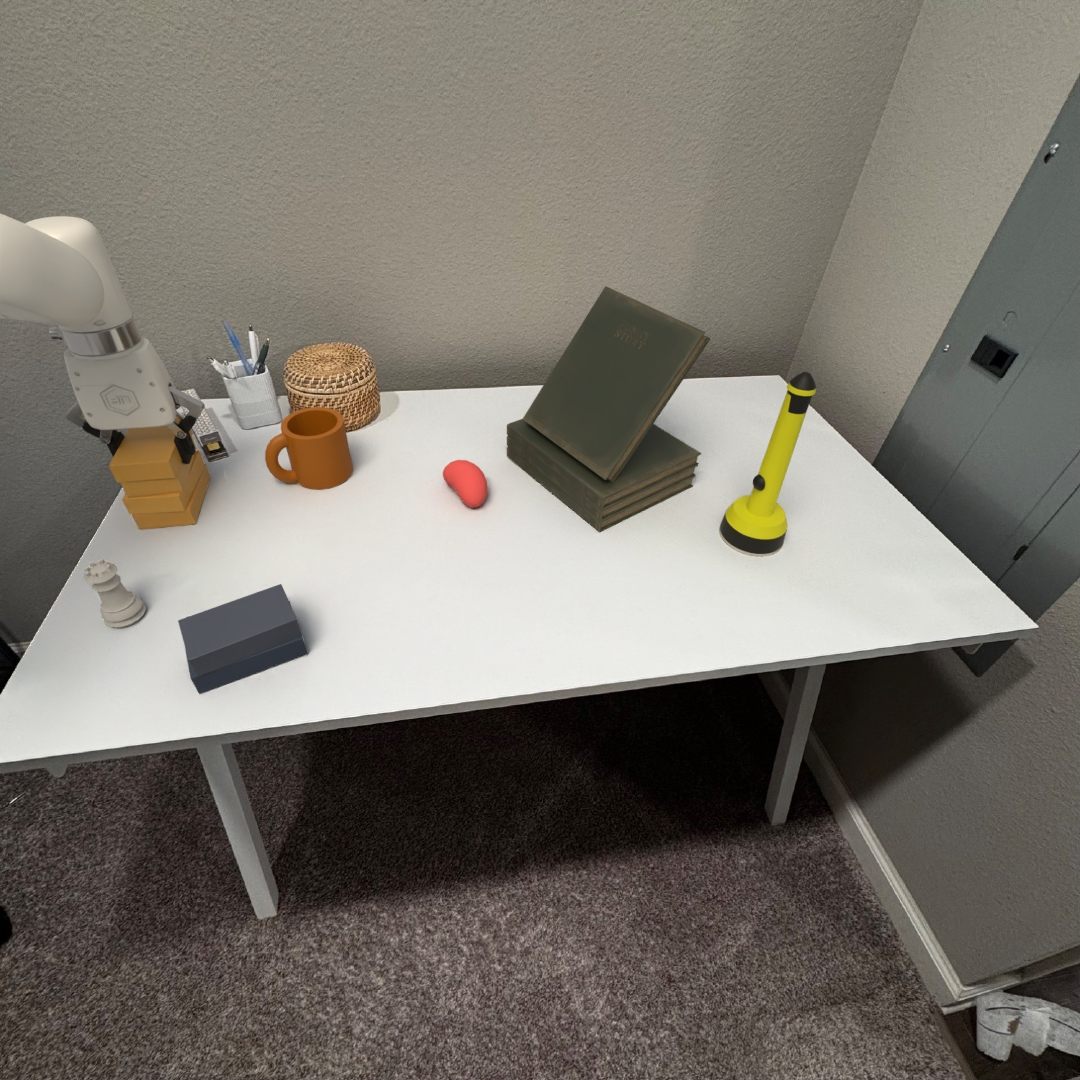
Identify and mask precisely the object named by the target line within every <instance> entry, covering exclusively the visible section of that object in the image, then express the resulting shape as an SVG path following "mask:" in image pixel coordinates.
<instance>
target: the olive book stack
mask: <svg viewBox="0 0 1080 1080" xmlns="http://www.w3.org/2000/svg"><path fill="white" fill-rule="evenodd" d="M705 334H706V332H705V331H704V330H702V329H699V328H698V327H696V326H693V325H691V324H688V323H686V322H685V321H682V320H681V319H678V318H676V317H674V316H672V315H669V314H667V313H665V312H663V311H661V310H659V309H656V308H654V307H652V306H650V305H648V304H646V303H643V302H641V301H639V300H637V299H635V298H632V297H630V296H628V295H627V294H624V293H622V292H620V291H617V290H615V289H613V288H611V287H608V286H606V285H605V286H604V288H603V289H602V291H601V292H600V294H599V296H598V297H597V299H596V300H595V302H594V304H593V305H592V307H590V310H589V311H588V313H587V315H586V316H585V318H584V320H583V321H582V323H581V325H580V326H579V327H578V329H577V330H576V333H575V334H574V336H573V337H572V339H571V340H570V342H569V343H568V345H567V347H566V348H565V350H564V351H563V353H562V355H561V357H560V358H559V359H558V361H557V362H556V365H555V366H554V367H553V369H552V371H551V372H550V374H549V375H548V377H547V379H546V380H545V382H544V383H543V385H542V387H541V388H540V390H539V391H538V393H537V395H536V396H535V398H534V400H533V402H532V403H531V404H530V406H529V407H528V409H527V411H526V412H525V414H524V416H523V417H522V418H520V419H517V420H515V421H512V422H509V423H507V425H506V457H507V458H508V459H509V460H511V461H512V462H513V463H514V464H516V465H517V466H518V467H519V468H521V469H522V470H523V471H524V472H525V473H526V474H528V476H530V477H531V478H533V479H534V480H535V481H536V482H537V483H539V484H541V486H543V487H544V488H545V489H546V490H547V491H549V492H550V493H551V494H552V495H554V496H555V497H556V498H557V499H558V500H560V501H561V502H563V504H564V505H566V506H567V507H568V508H570V509H571V510H572V511H573V512H574V513H576V514H577V515H579V517H581V518H582V520H584V521H585V522H587V523H588V524H589V525H590V526H591V527H593V528H594V529H595V530H597V531H598V532H599V533H601V532H604V531H605V530H608V529H610V528H611V527H613V526H616V525H618V524H620V523H622V522H623V521H625V520H628V519H630V518H632V517H634V516H636V515H638V514H640V513H642V512H644V511H646V510H648V509H650V508H653V507H655V506H656V505H658V504H660V503H663V502H665V501H667V500H668V499H671V498H673V497H674V496H676V495H678V494H680V493H683V492H685V491H687V490H689V489H691V488H693V487H694V485H693V484H692V483H693V479H695V478H696V476H697V474H696V473H695V470H696V468H697V467H699V462H698V458H699V456H701V455H702V453H701V452H700V451H698V450H697V449H695V448H694V447H692V446H690V445H689V444H687V443H685V442H684V441H682V440H680V439H679V438H678V437H676V436H675V435H672V434H671V433H670V432H668V431H666V430H664V429H663V428H661V427H660V426H658V425H656V424H655V423H656V421H657V419H658V418H659V416H660V415H661V413H662V412H663V410H664V409H665V407H666V406H667V404H668V403H669V401H670V400H671V398H672V397H673V396H674V394H675V393H676V391H677V390H678V388H679V387H680V385H681V384H682V383H683V380H684V379H685V378H686V376H687V375H688V373H689V372H690V370H691V369H692V368H693V366H694V364H695V363H696V362H697V360H698V358H699V357H700V356H701V354H702V353H703V351H704V349H705V348H706V346H707V345H708V344H709V342H710V341H711V337H709V336H707V335H705Z"/></svg>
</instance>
